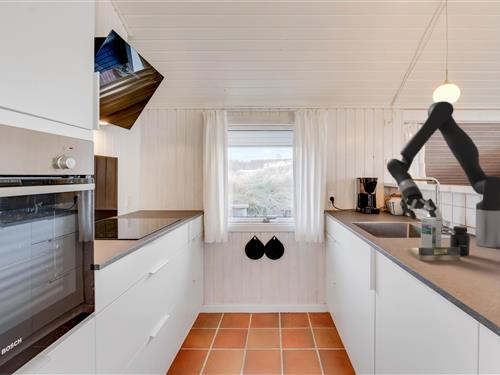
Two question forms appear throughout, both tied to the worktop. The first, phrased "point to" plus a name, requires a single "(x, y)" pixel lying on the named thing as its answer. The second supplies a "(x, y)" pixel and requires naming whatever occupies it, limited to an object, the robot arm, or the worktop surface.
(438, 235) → the syrup box
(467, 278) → the worktop surface
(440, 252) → the price shelf
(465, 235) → the supplement bottle
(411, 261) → the worktop surface
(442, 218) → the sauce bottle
